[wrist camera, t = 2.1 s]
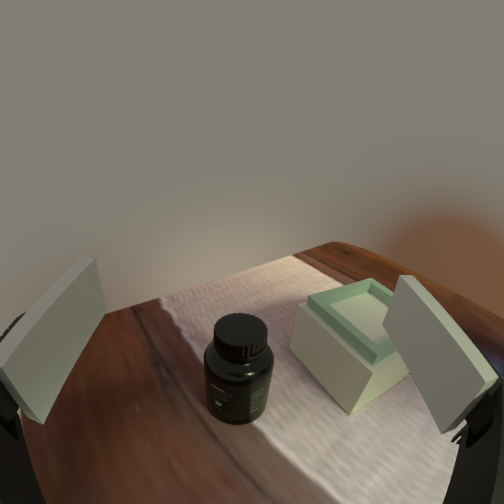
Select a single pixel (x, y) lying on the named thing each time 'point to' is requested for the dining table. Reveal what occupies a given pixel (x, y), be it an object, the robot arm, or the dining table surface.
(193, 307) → the dining table surface
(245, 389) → the supplement bottle
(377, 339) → the riser
